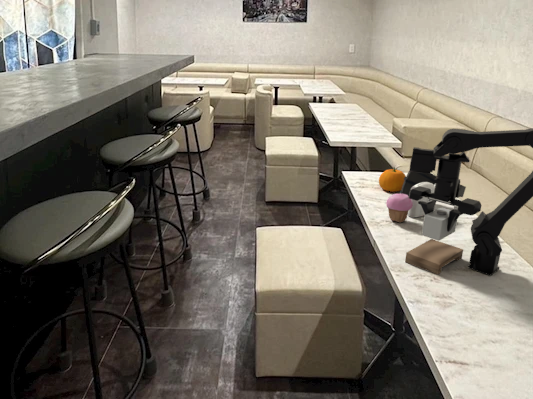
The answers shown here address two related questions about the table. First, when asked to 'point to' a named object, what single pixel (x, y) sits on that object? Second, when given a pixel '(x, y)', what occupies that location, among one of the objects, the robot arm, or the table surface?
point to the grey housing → (437, 224)
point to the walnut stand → (433, 255)
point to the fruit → (392, 180)
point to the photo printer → (416, 207)
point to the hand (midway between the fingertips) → (439, 228)
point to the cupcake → (399, 206)
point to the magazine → (416, 180)
